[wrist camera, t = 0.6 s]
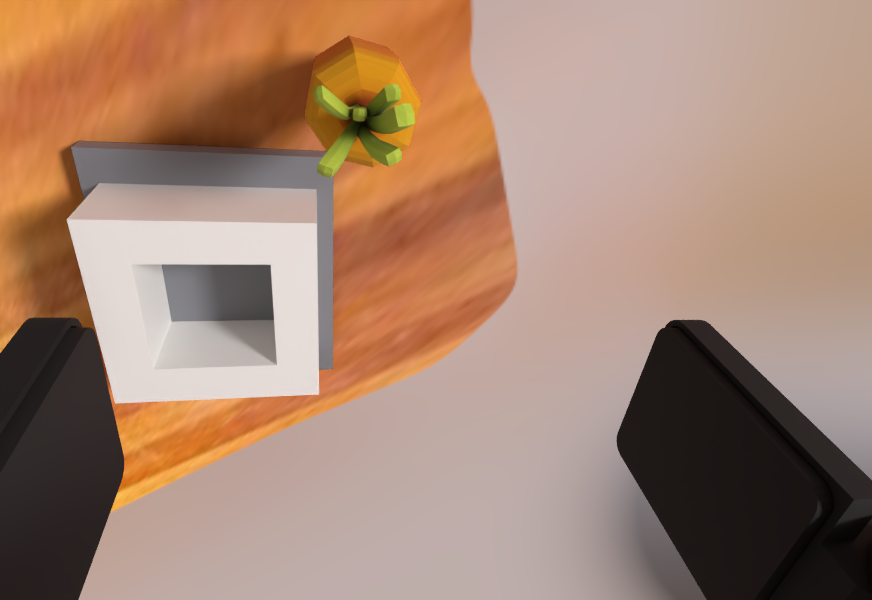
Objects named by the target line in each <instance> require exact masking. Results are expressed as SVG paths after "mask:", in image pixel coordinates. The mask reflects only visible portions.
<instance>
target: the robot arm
mask: <svg viewBox="0 0 872 600" xmlns="http://www.w3.org/2000/svg"><path fill="white" fill-rule="evenodd" d="M617 447H618V451H619V453H620V455H621V457H622V458H623V460H624V462H625V463H626V465H627V467H628V468H629V470H630V472H631V473H632V475H633V477H634V478H635V480H636V482H637V483H638V485H639V487H640V489H641V490H642V492H643V493H644V495H645V497H646V499H647V500H648V502H649V504H650V505H651V507H652V509H653V510H654V512H655V514H656V515H657V517H658V519H659V520H660V522H661V524H662V525H663V527H664V529H665V530H666V532H667V534H668V535H669V537H670V539H671V540H672V542H673V544H674V545H675V547H676V549H677V551H678V552H679V554H680V556H681V557H682V559H683V561H684V562H685V564H686V566H687V567H688V569H689V571H690V572H691V574H692V576H693V577H694V579H695V581H696V582H697V584H698V586H699V587H700V589H701V591H702V592H703V594H704V596H705V597H706V599H707V600H872V480H871V479H870V478H869V477H868V476H867V475H866V474H865V473H864V472H862V470H860V469H859V468H858V467H857V466H856V465H855V464H854V463H853V462H852V461H851V460H850V459H849V458H848V457H847V456H846V455H845V454H844V453H843V452H842V451H841V450H840V449H839V448H838V447H837V446H836V445H835V444H834V443H833V442H831V441H830V440H829V439H828V438H827V437H826V436H825V435H824V434H823V433H822V432H821V431H820V430H819V429H818V428H817V427H816V426H815V425H814V424H813V423H812V422H811V421H810V420H809V419H808V418H807V417H806V416H804V415H803V414H802V413H801V412H800V411H799V410H798V409H797V408H796V407H795V406H794V405H793V404H792V403H791V402H790V401H789V400H788V399H787V398H786V397H785V396H784V395H783V394H782V393H781V392H780V391H779V390H778V389H776V388H775V387H774V386H773V385H772V384H771V383H770V382H769V381H768V380H767V379H766V378H765V377H764V376H763V375H762V374H761V373H760V372H759V371H758V370H757V369H755V367H754V366H753V365H751V364H750V363H749V362H748V361H747V360H746V359H745V358H744V357H743V356H742V355H741V354H740V353H739V352H738V351H737V350H736V349H735V348H734V347H733V346H732V345H731V344H730V343H729V342H728V341H727V340H726V339H725V338H724V337H722V336H721V335H720V334H719V333H718V332H717V331H716V330H715V329H714V328H713V327H712V326H711V325H710V324H709V323H707V322H706V321H702V320H673V321H670V322H669V323H668V324H667V325H666V327H665V328H662V329H661V330H660V331H659V332H658V334H657V336H656V338H655V341H654V343H653V346H652V348H651V351H650V353H649V356H648V358H647V361H646V364H645V366H644V369H643V371H642V374H641V376H640V379H639V381H638V383H637V386H636V389H635V391H634V394H633V396H632V399H631V401H630V404H629V406H628V409H627V411H626V414H625V417H624V419H623V421H622V424H621V426H620V429H619V432H618V435H617ZM123 471H124V456H123V451H122V447H121V442H120V438H119V434H118V429H117V425H116V421H115V416H114V412H113V408H112V403H111V399H110V395H109V390H108V386H107V381H106V377H105V373H104V368H103V364H102V360H101V355H100V351H99V347H98V342H97V338H96V335H95V332H94V330H93V329H92V328H82V326H81V323H80V322H79V320H78V319H76V318H29V319H28V320H26V321H25V322H24V323H23V325H22V326H21V327H20V329H19V330H18V331H17V332H16V334H15V335H14V336H13V338H12V339H11V340H10V342H9V343H8V344H7V345H6V347H5V348H4V349H3V351H2V352H1V353H0V600H78V599H79V596H80V593H81V591H82V588H83V585H84V583H85V580H86V577H87V574H88V571H89V569H90V566H91V563H92V561H93V557H94V555H95V552H96V550H97V547H98V544H99V541H100V538H101V536H102V533H103V530H104V527H105V525H106V522H107V519H108V516H109V514H110V511H111V508H112V505H113V503H114V500H115V497H116V494H117V492H118V489H119V486H120V483H121V480H122V477H123Z"/></svg>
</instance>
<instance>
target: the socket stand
mask: <svg viewBox="0 0 872 600" xmlns="http://www.w3.org/2000/svg"><path fill="white" fill-rule="evenodd" d="M71 149H72V153H73V157H74V161H75V166H76V170H77V174H78V178H79V182H80V186H81V190H82V194H83V198H84V201H83V202H82V203H81V204H80V205H79V206H78V207H77V208H76V210H75V211H74V212H73V213H72V214H71V215H70V216H69V217H68V218H67V223H68V226H69V230H70V234H71V238H72V241H73V245H74V249H75V253H76V257H77V260H78V264H79V268H80V272H81V275H82V279H83V283H84V287H85V291H86V294H87V298H88V302H89V306H90V309H91V313H92V317H93V321H94V325H95V328H96V332H97V336H98V340H99V343H100V347H101V351H102V355H103V358H104V362H105V366H106V370H107V374H108V377H109V381H110V385H111V389H112V392H113V396H114V400H115V403H136V402H158V401H181V400H203V399H226V398H248V397H271V396H293V395H316V394H319V370H323V369H333V176H332V177H331V178H330V177H325V176H322V175H321V174H319V173H317V167H318V164H319V162H320V161H321V159H322V158H323V156H324V155H325V154H326V153H327V151H311V150H287V149H263V148H239V147H216V146H192V145H168V144H144V143H120V142H97V141H78V142H77V143H76V144H74V145H73V146H72V147H71Z"/></svg>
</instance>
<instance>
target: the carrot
mask: <svg viewBox="0 0 872 600" xmlns="http://www.w3.org/2000/svg"><path fill="white" fill-rule="evenodd" d="M420 106H421V99H420V97H419V95H418V93H417V91H416V90H415V88H414V86H413V84H412V82H411V80H410V78H409V76H408V74H407V73H406V71H405V69H404V67H403V65H402V63H401V61H400V59H399V58H398V57H397V56H396V55H395V53H394V52H393V51H391V50H390V49H389V48H387V47H385V46H382V45H378V44H375V43H372V42H368V41H365V40H362V39H358V38H355V37H352V36H348V37H346V38H344V39H343V40H341V41H340V42H338V43H336V44H335V45H333V46H332V47H330V48H329V49H327V50H325V51H324V52H322V53H321V54H319V55H317V56H316V57H315V60H314V64H313V69H312V75H311V80H310V86H309V91H308V97H307V102H306V108H305V114H304V118H305V120H306V121H307V123H308V124H309V126H310V127H311V129H312V130H313V132H314V133H315V135H316V136H317V138H318V139H319V141H320V142H321V143H322V145H323V146H324V148H325V149H326V151H327V153H326V154H325V155H324V156H323V158H322V159H321V161H320V162H319V164H318V167H317V173H319V174H321V175H322V176H325V177H330V178H331V177H332V176H333V175H334V174H335V173H336V172H337V171H338V169H339V168H340V166H341V165H342V163H343V162H344V161H349V162H353V163H357V164H362V165H366V166H370V167H374V166H376V165H378V164H380V163H382V164H384V165H387V166H391V165H394V164H396V163H398V162H399V161H400V160H401V159H402V153H401V150H403V149H405V148H407V147H408V146H409V145H410V142H411V138H412V135H413V131H414V127H415V124H416V120H417V117H418V113H419V109H420Z"/></svg>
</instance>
